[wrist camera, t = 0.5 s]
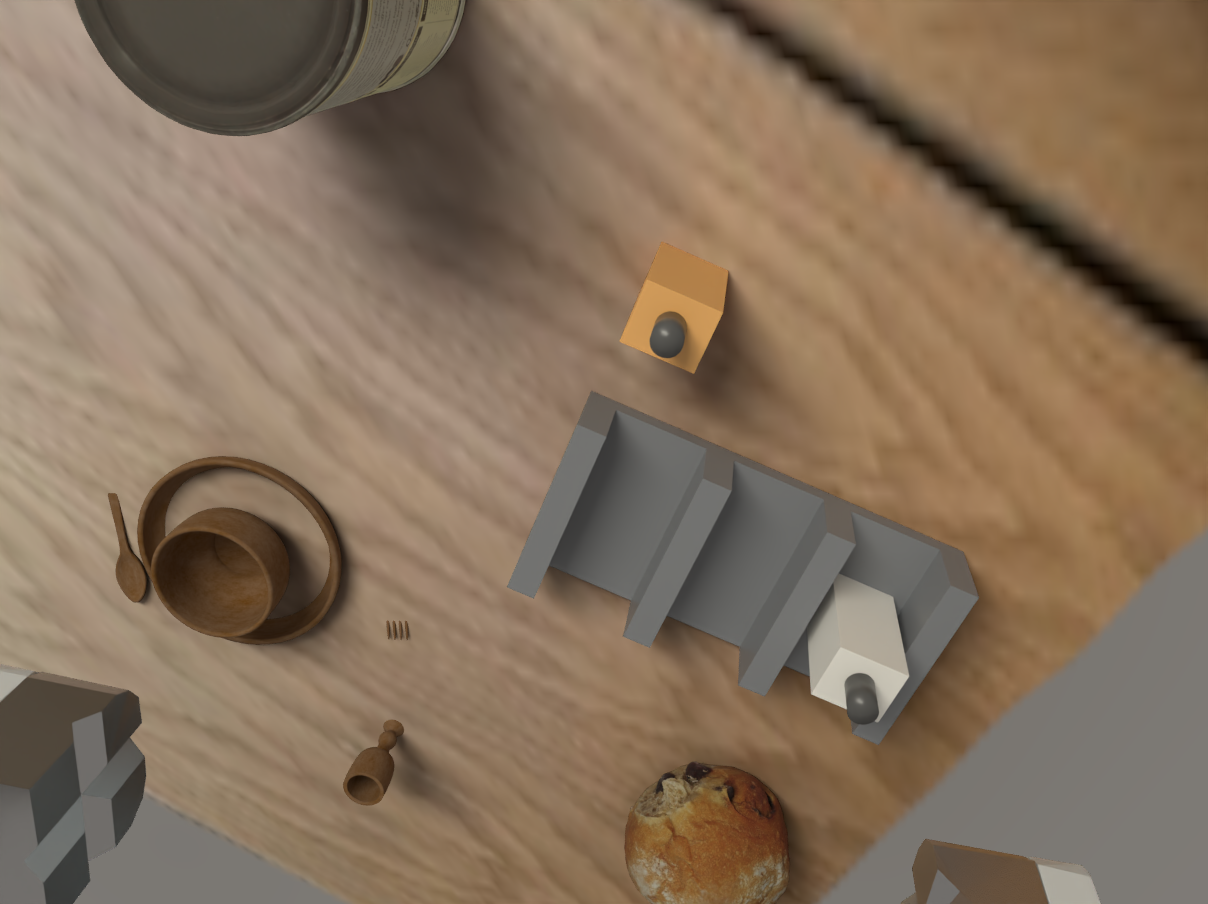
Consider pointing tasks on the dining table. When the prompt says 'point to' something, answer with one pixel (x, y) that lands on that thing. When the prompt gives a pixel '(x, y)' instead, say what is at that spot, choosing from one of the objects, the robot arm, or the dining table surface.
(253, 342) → the dining table surface
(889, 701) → the white plug
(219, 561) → the place setting
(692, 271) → the orange plug
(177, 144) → the dining table surface
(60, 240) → the dining table surface
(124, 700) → the robot arm
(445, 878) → the dining table surface
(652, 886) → the bread roll
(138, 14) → the coffee can
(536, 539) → the rack
